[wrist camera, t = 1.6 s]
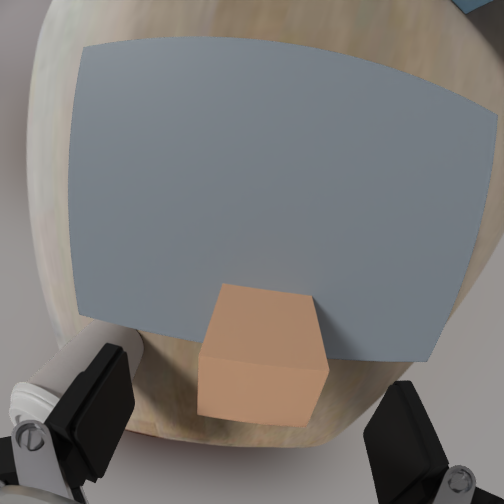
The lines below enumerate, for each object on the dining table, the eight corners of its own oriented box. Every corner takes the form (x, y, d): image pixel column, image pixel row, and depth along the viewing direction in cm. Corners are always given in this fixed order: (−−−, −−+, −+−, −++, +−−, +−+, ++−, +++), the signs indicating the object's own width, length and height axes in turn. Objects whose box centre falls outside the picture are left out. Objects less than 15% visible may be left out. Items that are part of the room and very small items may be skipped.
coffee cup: (126, 383, 31) (76, 481, 17) (68, 327, 29) (-6, 413, 15) (175, 351, 29) (125, 475, 15) (107, 283, 26) (12, 384, 12)
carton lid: (91, 50, 10) (13, 22, 5) (488, 115, 10) (569, 117, 5) (85, 307, 15) (29, 367, 10) (422, 353, 15) (460, 422, 10)
